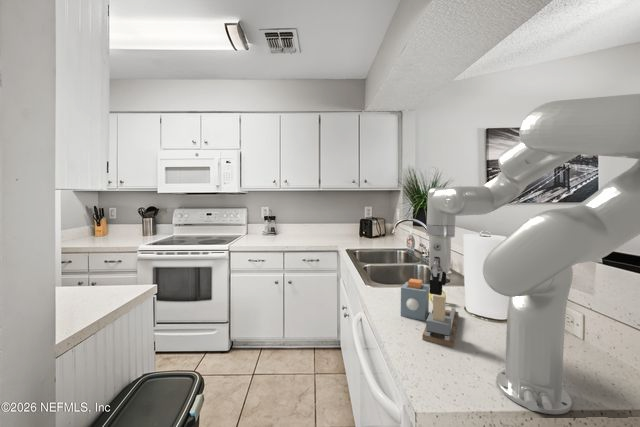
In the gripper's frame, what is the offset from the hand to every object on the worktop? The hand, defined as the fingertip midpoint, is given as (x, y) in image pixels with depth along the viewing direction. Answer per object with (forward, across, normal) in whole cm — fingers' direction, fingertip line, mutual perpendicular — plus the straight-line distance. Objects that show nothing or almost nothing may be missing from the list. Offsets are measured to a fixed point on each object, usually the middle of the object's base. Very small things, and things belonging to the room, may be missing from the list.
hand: (437, 288), depth 82 cm
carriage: (+12, -1, -1) cm, 12 cm away
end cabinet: (+15, +14, +9) cm, 22 cm away
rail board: (+15, +8, -1) cm, 17 cm away
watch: (+15, +29, +3) cm, 33 cm away
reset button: (+6, +14, +9) cm, 18 cm away
